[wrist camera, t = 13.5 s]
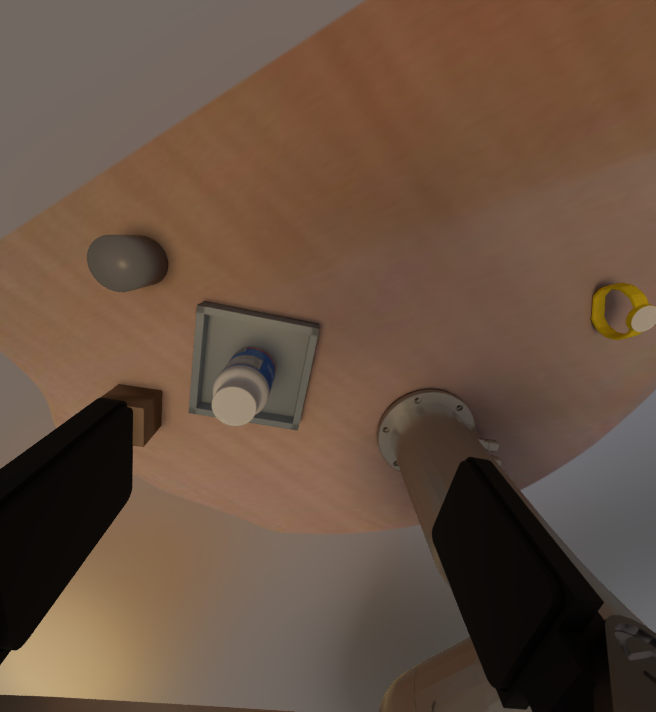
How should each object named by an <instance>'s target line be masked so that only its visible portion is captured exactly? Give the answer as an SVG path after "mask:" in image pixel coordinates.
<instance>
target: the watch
mask: <svg viewBox="0 0 656 712" xmlns="http://www.w3.org/2000/svg"><path fill="white" fill-rule="evenodd" d="M612 289H615V290H619V291H621V292H622V293H624V294H625V295H626V296H627V297H628V298H629V299H630V301H631V303H632V306H633V309H632V310H631V311H630V312H629V314H628V315H627V318H626V325H627V327H628V328H629V329H630V330H629V331H628V332H627V333H626V334H623V333H619V332H616V331H615V330H614V329H613V328H611V327H610V326H609V325H608V323H607V321H606V319H605V318H604V311H605V297H606V295H607V294H608V293H609V292H610V291H611V290H612ZM590 319H591V321H592V323H593V325H594V326H595V328H596V329H597V331H599V332H600V333H601V334H602V335H603V336H605V337H607V338H610V339H614V340H620V339H625V338H630V337H633V336H636V335H639V334H641V333H642V332H644V331H647V330H649V329H650V328H652V327H653V326H654V325H655V323H656V307H655V306H653V305H649V303H648V300H647V298H646V296H645V295H644V293H643V292H642V291H640V290H639V289H638V288H637V287H636V286H634V285H631V284H627V283H617V284H613V285H609V286H605V287H602V288H600V289H599V290H598V291H597V292H596V293H595V294H594V295H593V300H592V317H591V318H590Z"/></svg>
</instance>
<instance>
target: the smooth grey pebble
mask: <svg viewBox="0 0 656 712" xmlns="http://www.w3.org/2000/svg"><path fill="white" fill-rule="evenodd" d="M87 262H88V266H89V269H90V271H91V273H92V275H93V276H94V278H95V279H96V280H97V281H98V282H99V283H100V284H101V285H103V286H104V287H106V288H108V289H110V290H113V291H116V292H127V291H131V290H135V289H138V288H142V287H146V286H149V285H153V284H156V283H158V282H160V281H161V280H162V279H163V278H164V277H165V275H166V273H167V270H168V259H167V256H166V253H165V252H164V250H163V248H162V247H161V246H160V245H159V244H158V243H157V242H156V241H154V240H153V239H151V238H148V237H145V236H131V235H104V236H101V237H99V238H97V239H95V240H94V241H93V242H92V244H91V245H90V247H89V249H88V253H87Z"/></svg>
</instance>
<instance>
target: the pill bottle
mask: <svg viewBox="0 0 656 712" xmlns="http://www.w3.org/2000/svg"><path fill="white" fill-rule="evenodd" d="M275 373H276V367H275V363H274V361H273V359H272V357H271V356H270V355H269V354H268V353H267V352H265V351H264V350H262V349H259V348H255V347H248V348H244V349H241V350H239V351H238V352H236V353H235V354H234V355H233V357H232V358H231V359H230V361H229V362H228V363H227V365H226V366H225V368H224V369H223V370H222V372H221V373H220V374H219V376H218V377H217V379H216V380H215V383H214V386H213V399H212V410H213V413H214V415H215V416H216V418H217V419H218V420H220V421H221V422H222V423H224V424H227V425H230V426H241V425H244V424H247V423H248V422H250V421H251V420H252V419H253V418H254V416H255V415H256V414H258V413H259V412H260V411H261V410H262V409H263V408H264V407H265V405H266V403H267V401H268V398H269V395H270V391H271V388H272V384H273V381H274V378H275Z"/></svg>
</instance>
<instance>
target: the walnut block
mask: <svg viewBox="0 0 656 712" xmlns="http://www.w3.org/2000/svg"><path fill="white" fill-rule="evenodd" d="M101 398H109V399H115V400H121V401H125V402H126V403H127V407H130V408H132V410H133V446H140V447H144V446H145V445H146V443H147V442H148V441H149V440H150V439H151V437H152V436H153V435H154V434H155V433H156V431H157V430H158V429H159V428H160V427H161V414H162V391H161V390H154V389H148V388H141V387H134V386H128V385H121V384H119V385H117V386H116V387H114V388H113V389H112V390H110V391H109V392H108V393H106V394H105V395H103V396H102V397H101Z"/></svg>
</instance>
